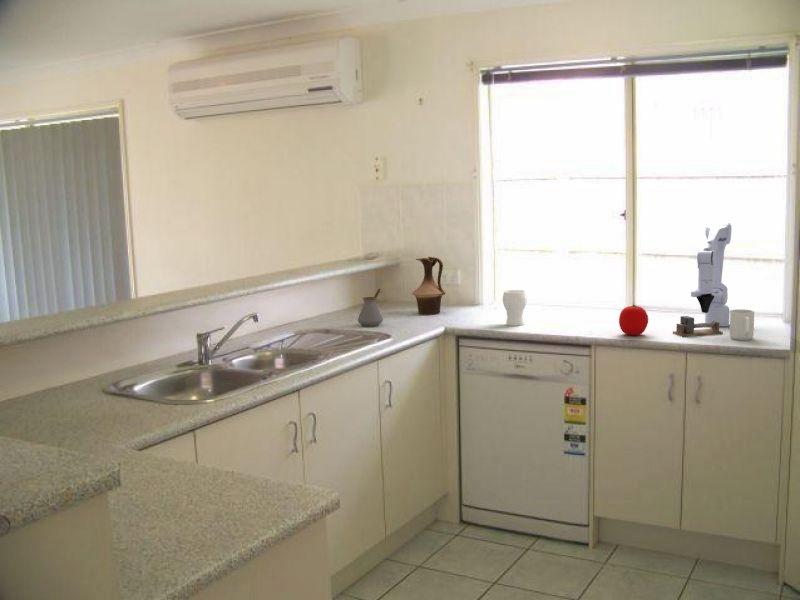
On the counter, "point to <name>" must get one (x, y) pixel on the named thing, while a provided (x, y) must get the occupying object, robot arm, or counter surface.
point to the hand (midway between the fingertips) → (704, 312)
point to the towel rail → (701, 332)
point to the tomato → (633, 320)
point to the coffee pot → (370, 312)
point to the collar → (688, 324)
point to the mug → (741, 324)
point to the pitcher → (429, 288)
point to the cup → (514, 306)
